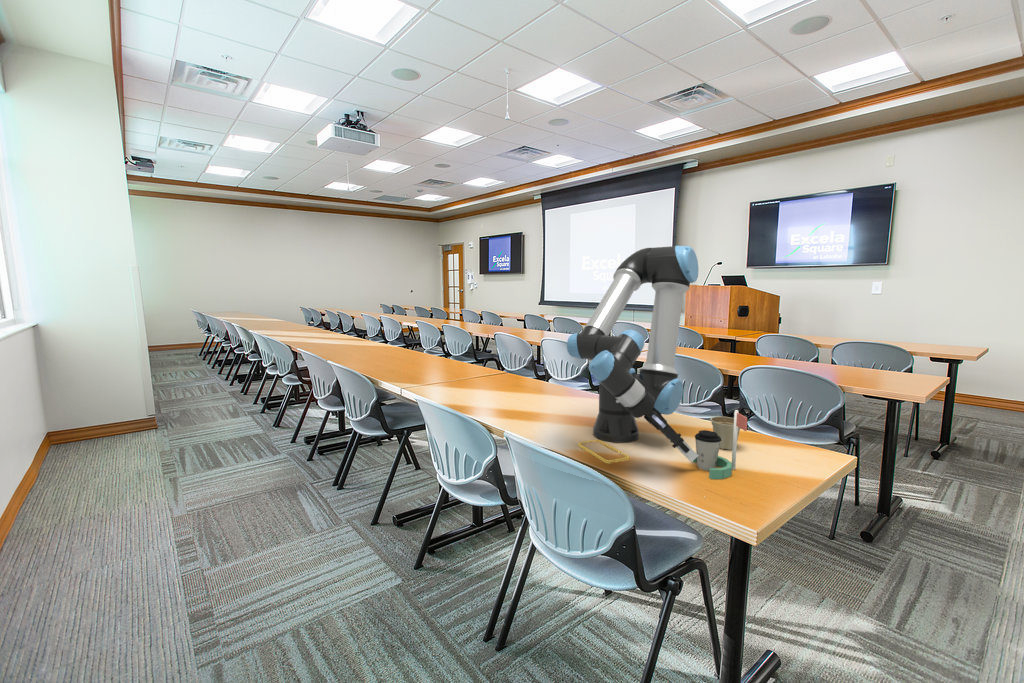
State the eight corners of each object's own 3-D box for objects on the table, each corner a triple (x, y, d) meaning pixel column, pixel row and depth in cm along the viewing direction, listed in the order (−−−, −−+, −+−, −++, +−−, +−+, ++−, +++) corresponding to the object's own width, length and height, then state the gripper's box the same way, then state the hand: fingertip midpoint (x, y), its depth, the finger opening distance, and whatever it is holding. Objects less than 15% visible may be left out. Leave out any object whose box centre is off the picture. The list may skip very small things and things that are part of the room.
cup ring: (691, 461, 132) (692, 453, 131) (718, 461, 132) (718, 452, 131) (711, 479, 119) (711, 470, 119) (740, 478, 119) (740, 469, 119)
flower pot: (745, 446, 144) (747, 420, 143) (736, 454, 137) (738, 426, 136) (714, 440, 150) (716, 414, 149) (704, 447, 143) (706, 420, 142)
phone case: (598, 443, 149) (598, 439, 149) (630, 461, 133) (630, 457, 133) (576, 446, 146) (576, 442, 145) (606, 465, 130) (606, 461, 130)
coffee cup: (725, 471, 124) (727, 436, 123) (703, 473, 123) (705, 438, 121) (708, 462, 131) (710, 428, 130) (687, 464, 129) (689, 430, 128)
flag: (730, 468, 126) (733, 409, 124) (734, 468, 126) (737, 409, 124) (741, 477, 120) (745, 415, 118) (745, 477, 120) (748, 415, 118)
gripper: (619, 402, 129) (675, 458, 131) (632, 414, 116) (693, 476, 118) (638, 384, 129) (694, 441, 131) (653, 394, 116) (714, 457, 118)
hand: (693, 457), depth 124 cm, fingers closed
